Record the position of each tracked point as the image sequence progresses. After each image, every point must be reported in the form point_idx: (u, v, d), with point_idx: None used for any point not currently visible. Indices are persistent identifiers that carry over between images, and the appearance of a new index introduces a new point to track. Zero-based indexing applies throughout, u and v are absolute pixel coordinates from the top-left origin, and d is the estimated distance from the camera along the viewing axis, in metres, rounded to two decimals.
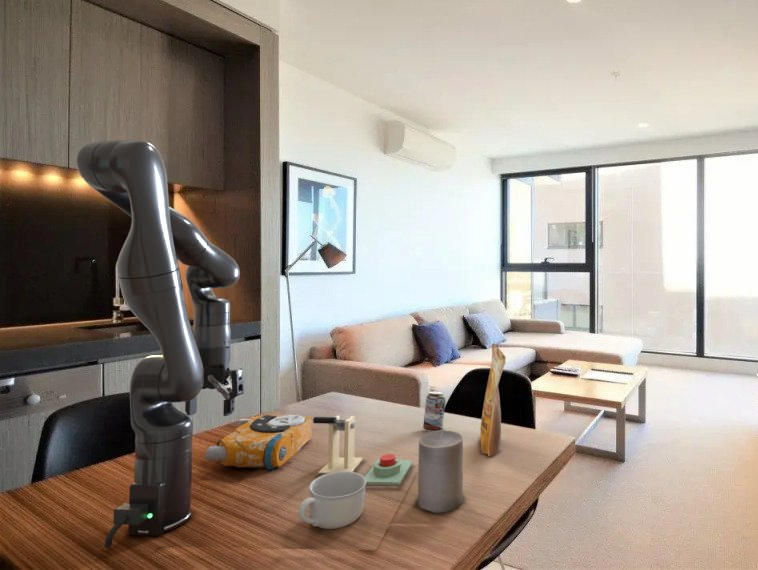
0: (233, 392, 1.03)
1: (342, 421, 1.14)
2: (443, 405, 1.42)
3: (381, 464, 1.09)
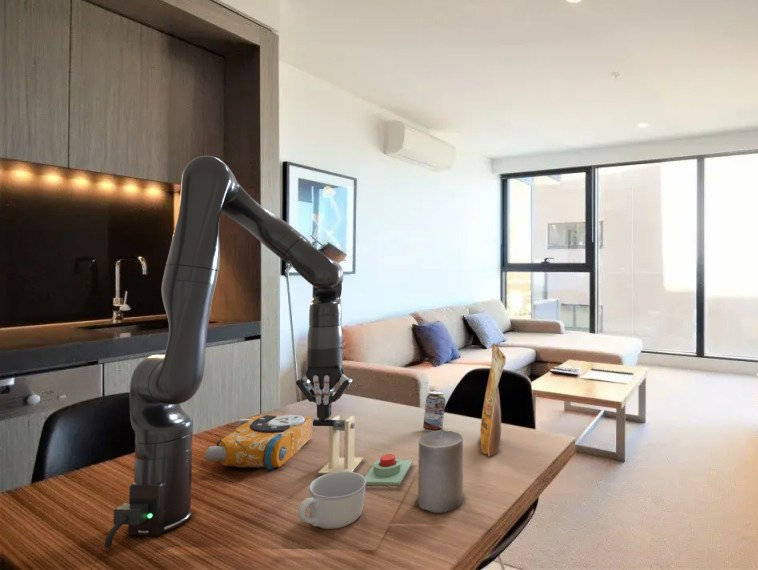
0: (332, 397, 1.04)
1: (342, 421, 1.14)
2: (443, 405, 1.42)
3: (381, 464, 1.09)
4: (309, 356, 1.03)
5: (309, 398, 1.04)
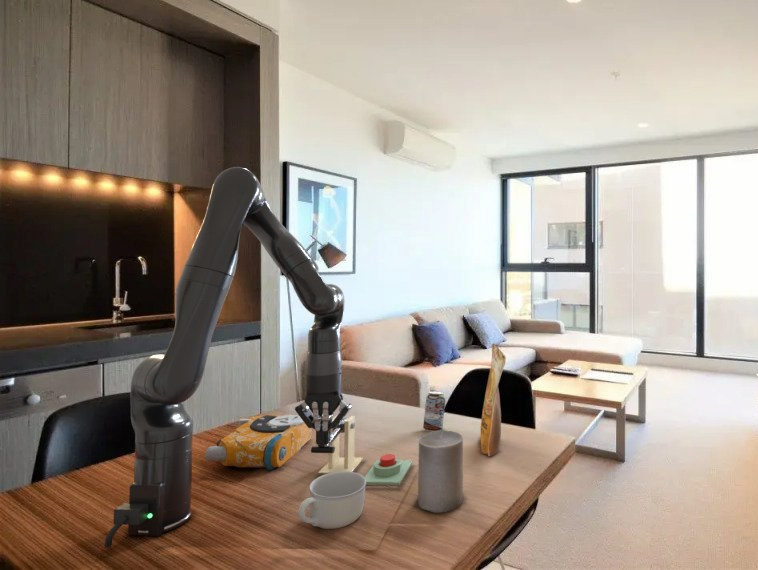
0: (331, 423, 1.04)
1: (341, 425, 1.14)
2: (443, 405, 1.42)
3: (381, 464, 1.09)
4: (308, 383, 1.02)
5: (308, 424, 1.04)
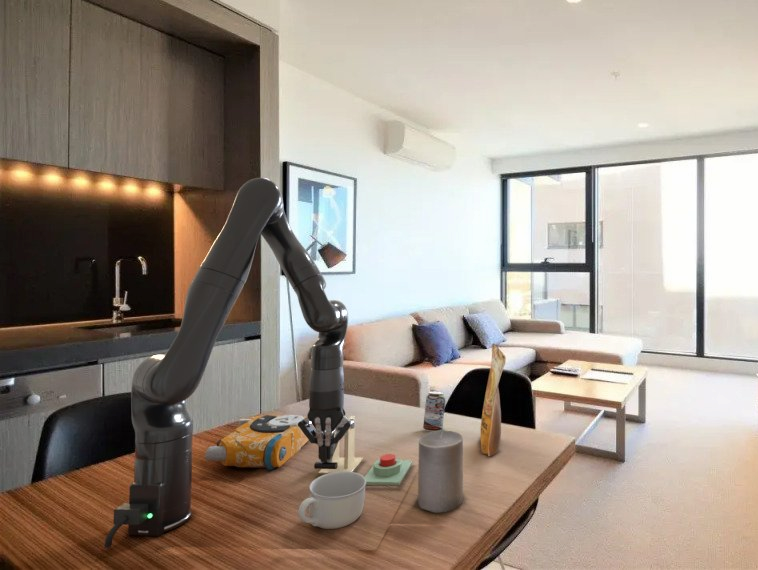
0: (333, 439, 1.05)
1: (341, 428, 1.14)
2: (443, 405, 1.42)
3: (381, 464, 1.09)
4: (311, 399, 1.04)
5: (311, 440, 1.05)
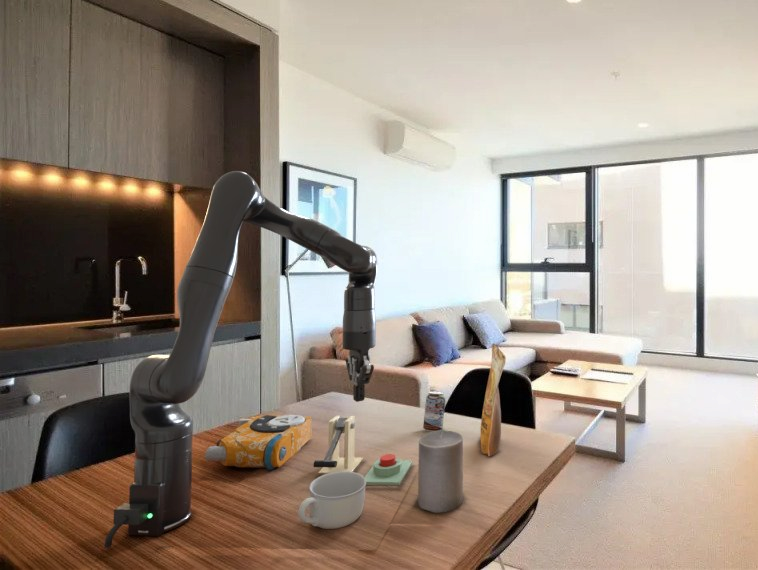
0: (357, 380, 1.06)
1: (341, 427, 1.14)
2: (443, 405, 1.42)
3: (381, 464, 1.09)
4: None
5: (349, 377, 1.10)
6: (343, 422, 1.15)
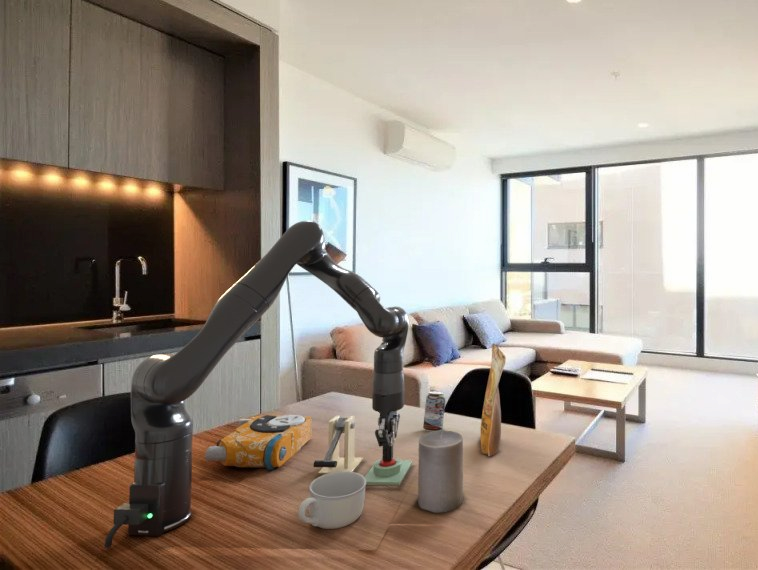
0: None
1: (341, 427, 1.14)
2: (443, 405, 1.42)
3: None
4: None
5: None
6: (343, 422, 1.15)
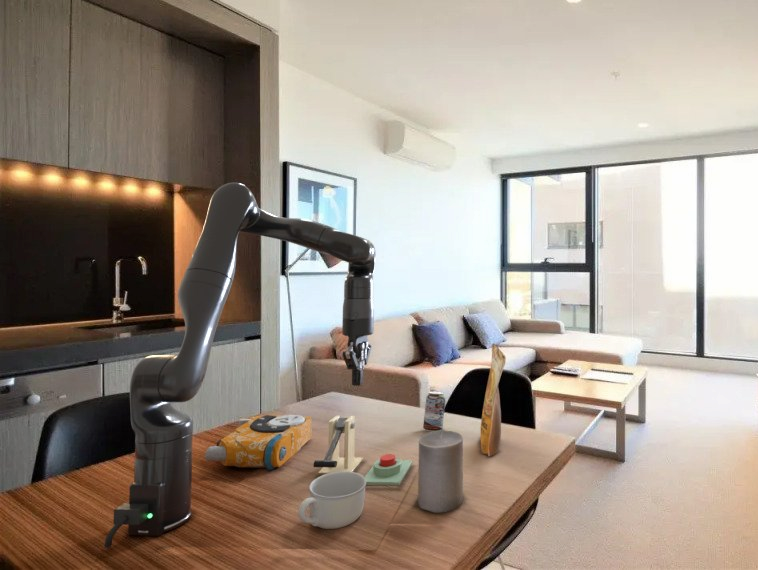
0: None
1: (341, 427, 1.14)
2: (443, 405, 1.42)
3: (381, 464, 1.09)
4: None
5: None
6: (343, 422, 1.15)
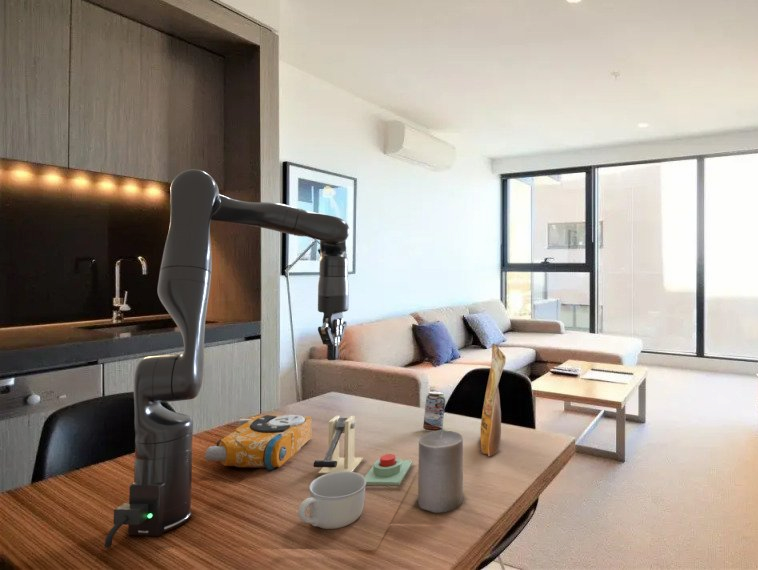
0: None
1: (341, 427, 1.14)
2: (443, 405, 1.42)
3: (381, 464, 1.09)
4: None
5: None
6: (343, 422, 1.15)
